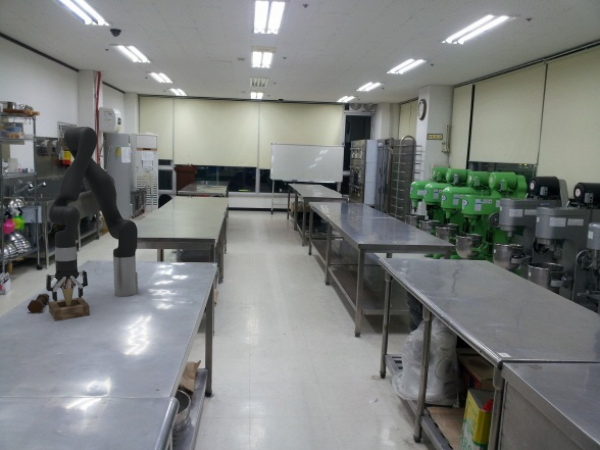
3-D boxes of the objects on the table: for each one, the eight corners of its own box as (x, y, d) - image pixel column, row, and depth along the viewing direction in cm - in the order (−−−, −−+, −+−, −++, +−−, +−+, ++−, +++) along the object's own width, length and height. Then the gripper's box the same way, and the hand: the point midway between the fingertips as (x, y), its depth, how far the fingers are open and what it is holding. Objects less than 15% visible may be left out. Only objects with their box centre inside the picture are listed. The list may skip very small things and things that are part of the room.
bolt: (47, 305, 198) (37, 316, 184) (36, 300, 197) (24, 311, 182) (55, 293, 198) (45, 303, 184) (43, 288, 197) (32, 297, 183)
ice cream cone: (64, 310, 187) (62, 273, 184) (79, 311, 187) (77, 274, 185) (58, 316, 181) (56, 277, 179) (73, 316, 182) (72, 278, 179)
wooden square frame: (81, 306, 192) (81, 297, 192) (89, 315, 183) (89, 305, 182) (49, 311, 185) (48, 301, 185) (55, 321, 176) (54, 310, 175)
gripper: (83, 254, 188) (85, 293, 190) (43, 258, 179) (45, 299, 182) (88, 258, 182) (90, 298, 184) (47, 262, 173) (49, 304, 176)
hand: (67, 299), depth 183 cm, fingers open, 8 cm apart
